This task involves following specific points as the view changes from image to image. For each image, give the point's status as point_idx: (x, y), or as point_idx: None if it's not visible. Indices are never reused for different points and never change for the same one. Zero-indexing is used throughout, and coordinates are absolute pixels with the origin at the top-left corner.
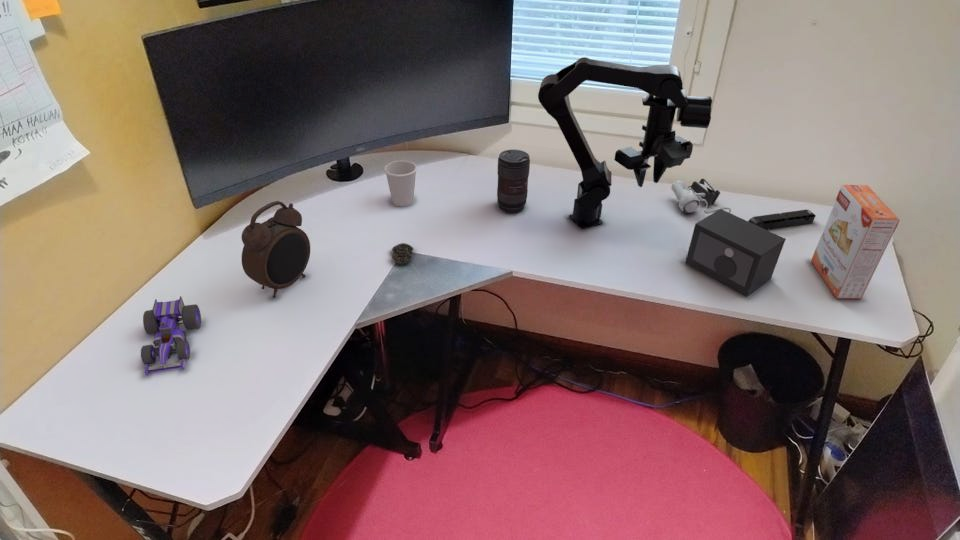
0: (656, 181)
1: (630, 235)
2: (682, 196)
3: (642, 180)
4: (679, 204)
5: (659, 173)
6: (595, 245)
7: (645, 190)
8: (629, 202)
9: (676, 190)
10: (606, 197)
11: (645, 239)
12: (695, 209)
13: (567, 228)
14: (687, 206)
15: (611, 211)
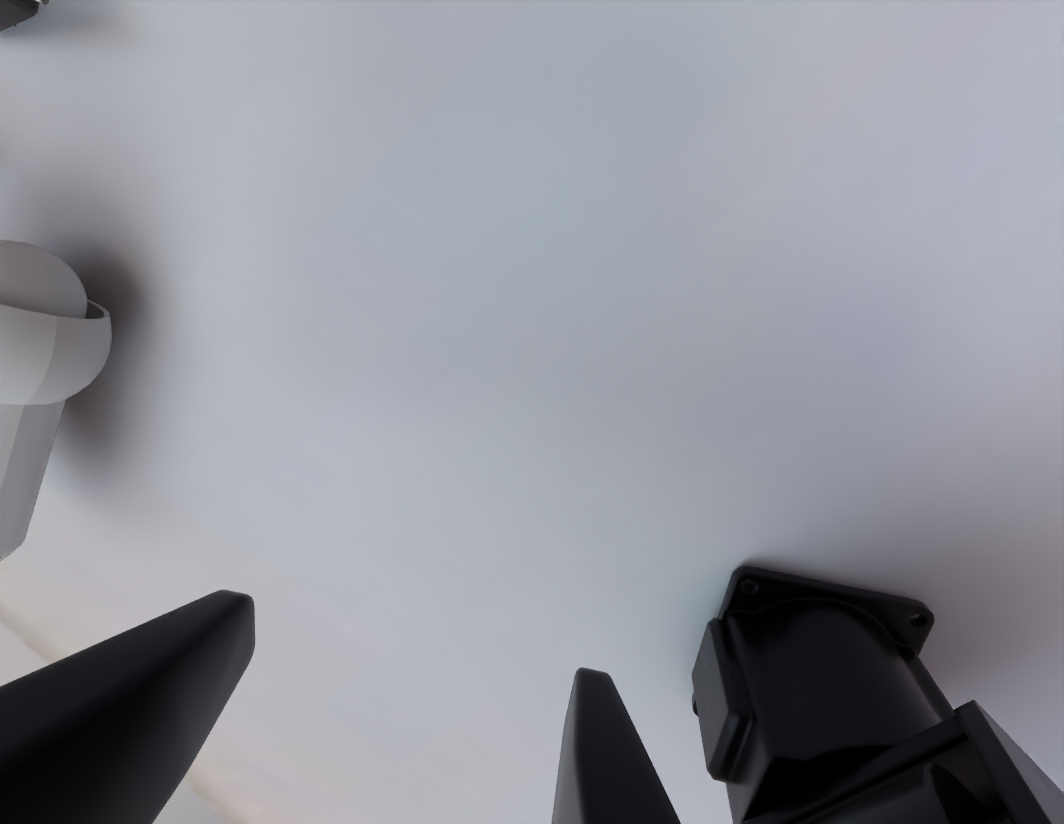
0: (229, 619)
1: (695, 338)
2: (7, 399)
3: (646, 820)
4: (91, 368)
5: (46, 767)
6: (1054, 403)
7: None
8: (368, 619)
9: (3, 489)
10: (931, 779)
11: (642, 223)
12: (10, 240)
13: (992, 667)
14: (50, 294)
15: (554, 622)
